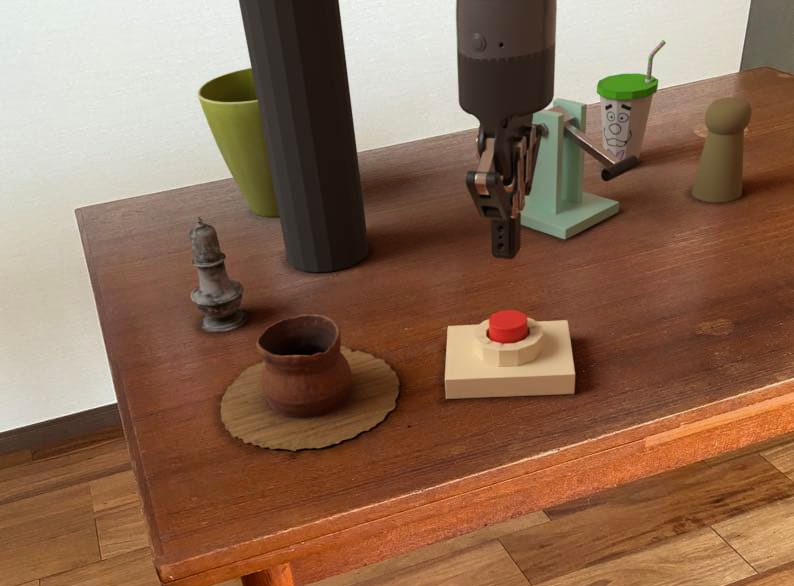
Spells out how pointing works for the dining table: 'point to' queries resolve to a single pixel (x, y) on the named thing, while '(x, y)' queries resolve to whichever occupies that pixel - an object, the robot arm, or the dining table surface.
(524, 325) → the button
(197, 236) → the salt shaker
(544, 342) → the button block
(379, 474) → the dining table surface
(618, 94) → the cup
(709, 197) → the olive pawn
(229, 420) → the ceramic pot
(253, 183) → the flower pot
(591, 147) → the lever
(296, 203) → the dark grey column
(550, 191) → the bracket
